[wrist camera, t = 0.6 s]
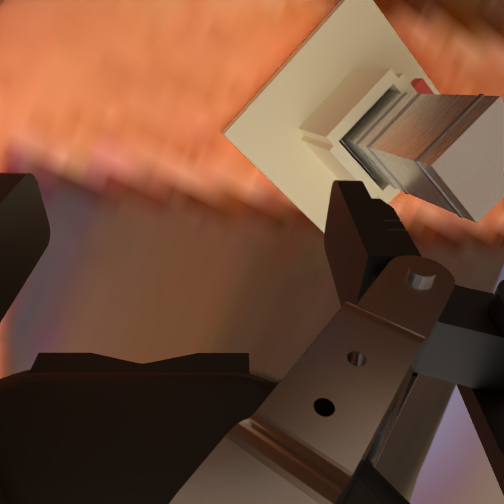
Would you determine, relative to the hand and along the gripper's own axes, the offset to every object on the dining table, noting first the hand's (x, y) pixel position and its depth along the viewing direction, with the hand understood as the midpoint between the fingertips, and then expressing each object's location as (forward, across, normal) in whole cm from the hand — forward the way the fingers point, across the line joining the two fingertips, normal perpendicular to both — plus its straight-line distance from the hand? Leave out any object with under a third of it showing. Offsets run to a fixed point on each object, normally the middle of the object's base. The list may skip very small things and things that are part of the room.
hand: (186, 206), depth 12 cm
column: (+22, -10, +6) cm, 25 cm away
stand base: (+23, -10, +6) cm, 26 cm away
